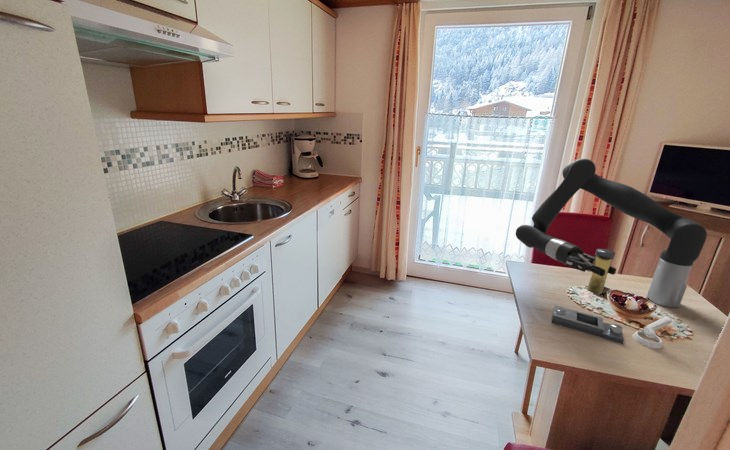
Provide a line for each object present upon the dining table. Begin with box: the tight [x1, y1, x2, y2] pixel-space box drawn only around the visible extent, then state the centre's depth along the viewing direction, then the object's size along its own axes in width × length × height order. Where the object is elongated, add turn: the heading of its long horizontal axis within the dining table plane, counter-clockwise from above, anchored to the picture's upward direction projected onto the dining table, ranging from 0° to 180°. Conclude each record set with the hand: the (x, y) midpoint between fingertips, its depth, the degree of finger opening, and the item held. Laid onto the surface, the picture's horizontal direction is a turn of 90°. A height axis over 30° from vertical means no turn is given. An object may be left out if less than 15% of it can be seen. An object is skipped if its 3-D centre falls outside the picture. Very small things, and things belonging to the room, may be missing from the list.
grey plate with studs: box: [551, 304, 625, 345], centre depth 111 cm, size 20×8×3 cm, turn 58°
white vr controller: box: [632, 315, 673, 349], centre depth 104 cm, size 8×12×7 cm
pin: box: [587, 248, 616, 295], centre depth 105 cm, size 5×5×14 cm
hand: (609, 272), depth 103 cm, fingers closed on pin, 4 cm apart
